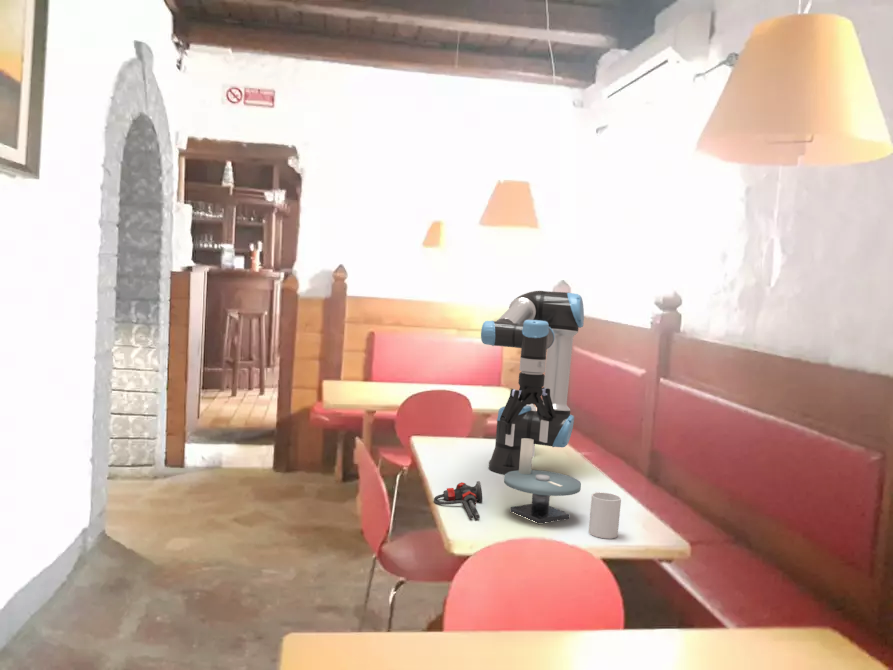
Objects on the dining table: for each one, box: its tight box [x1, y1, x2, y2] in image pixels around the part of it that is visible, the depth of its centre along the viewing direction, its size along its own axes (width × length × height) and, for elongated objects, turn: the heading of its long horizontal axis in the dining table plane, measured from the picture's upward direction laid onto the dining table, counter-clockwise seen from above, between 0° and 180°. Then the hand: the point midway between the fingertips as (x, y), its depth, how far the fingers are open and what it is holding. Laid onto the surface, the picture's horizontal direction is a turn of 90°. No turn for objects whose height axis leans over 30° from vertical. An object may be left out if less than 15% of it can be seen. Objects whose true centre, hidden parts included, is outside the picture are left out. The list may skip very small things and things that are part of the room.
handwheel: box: [503, 438, 582, 497], centre depth 223 cm, size 22×22×12 cm
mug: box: [588, 491, 622, 540], centre depth 213 cm, size 12×8×10 cm, turn 8°
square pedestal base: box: [509, 494, 570, 524], centre depth 224 cm, size 12×12×9 cm
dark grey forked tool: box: [433, 480, 483, 520], centre depth 227 cm, size 6×26×15 cm
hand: (526, 443), depth 230 cm, fingers open, 13 cm apart
